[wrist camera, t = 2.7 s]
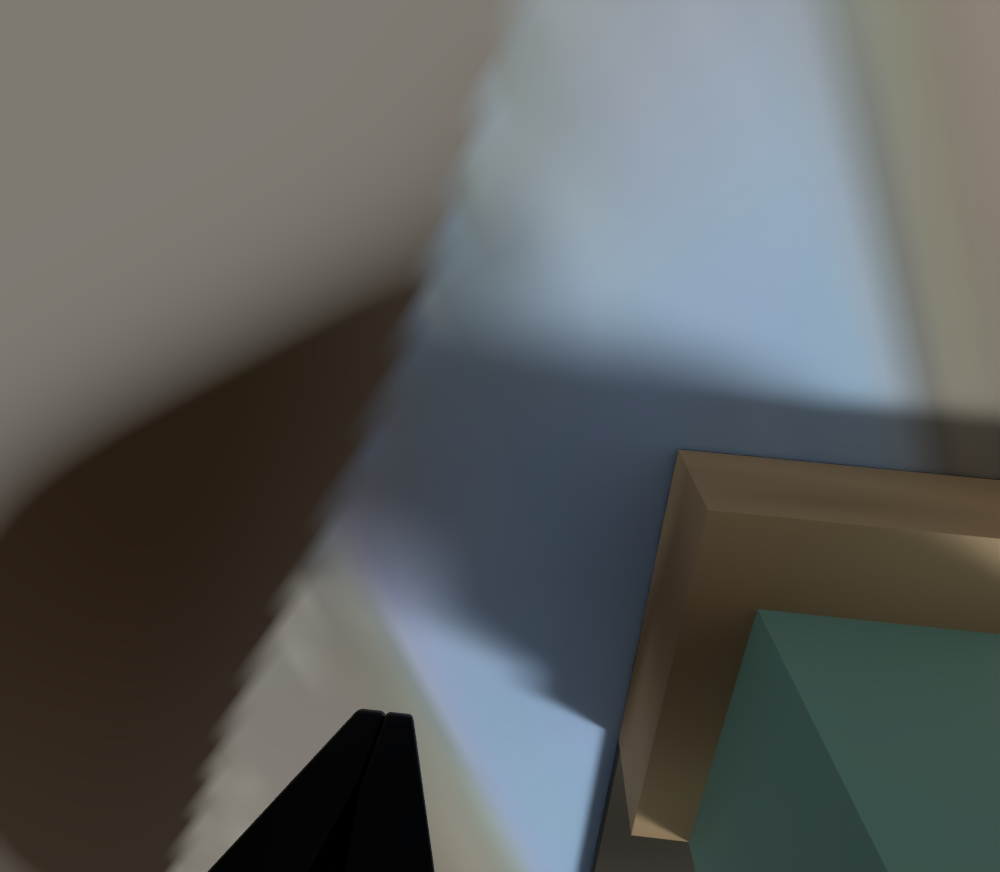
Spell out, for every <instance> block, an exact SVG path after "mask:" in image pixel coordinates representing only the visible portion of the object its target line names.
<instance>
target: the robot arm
mask: <svg viewBox="0 0 1000 872" xmlns="http://www.w3.org/2000/svg"><path fill="white" fill-rule="evenodd" d="M208 872H435V871H434V864H433V857H432V850H431V843H430V835H429V828H428V821H427V814H426V806H425V799H424V792H423V785H422V778H421V770H420V763H419V756H418V749H417V741H416V734H415V727H414V720H413V717H412V715H410V714H405V713H396V712H389V713H387V714H386V715H385V713H384V712H382V711H378V710H369V709H360V710H358V711H356V712H355V713H354V714H353V716H352V717H351V718H350V719H349V720H348V721H347V722H346V723H345V724H344V725H343V726H342V727H341V728H340V730H339V731H338V732H337V733H336V734H335V735H334V736H333V737H332V738H331V739H330V740H329V741H328V742H327V744H326V745H325V746H324V747H323V748H322V749H321V750H320V751H319V752H318V753H317V754H316V755H315V756H314V758H313V759H312V760H311V761H310V762H309V763H308V764H307V765H306V766H305V767H304V768H303V769H302V770H301V772H300V773H299V774H298V775H297V776H296V777H295V778H294V779H293V780H292V781H291V782H290V783H289V785H288V786H287V787H286V788H285V789H284V790H283V791H282V792H281V793H280V794H279V795H278V796H277V797H276V799H275V800H274V801H273V802H272V803H271V804H270V805H269V806H268V807H267V808H266V809H265V810H264V811H263V813H262V814H261V815H260V816H259V817H258V818H257V819H256V820H255V821H254V822H253V823H252V824H251V825H250V827H249V828H248V829H247V830H246V831H245V832H244V833H243V834H242V835H241V836H240V837H239V838H238V839H237V841H236V842H235V843H234V844H233V845H232V846H231V847H230V848H229V849H228V850H227V851H226V852H225V854H224V855H223V856H222V857H221V858H220V859H219V860H218V861H217V862H216V863H215V864H214V865H213V866H212V868H211V869H210V870H209V871H208Z"/></svg>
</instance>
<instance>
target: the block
mask: <svg viewBox="0 0 1000 872" xmlns="http://www.w3.org/2000/svg"><path fill="white" fill-rule="evenodd" d="M689 845H690V849H691V854H692V859H693V863H694V868H695V872H1000V634H992V633H982V632H973V631H963V630H953V629H944V628H934V627H925V626H915V625H905V624H896V623H886V622H877V621H867V620H857V619H848V618H838V617H829V616H819V615H809V614H800V613H790V612H781V611H771V610H761V609H757V612H756V615H755V619H754V622H753V625H752V629H751V632H750V636H749V639H748V642H747V646H746V649H745V653H744V656H743V659H742V663H741V666H740V670H739V673H738V676H737V680H736V683H735V687H734V690H733V694H732V697H731V700H730V704H729V707H728V711H727V714H726V717H725V721H724V724H723V728H722V731H721V734H720V738H719V741H718V745H717V748H716V751H715V755H714V758H713V762H712V765H711V768H710V772H709V775H708V779H707V782H706V785H705V789H704V792H703V796H702V799H701V802H700V806H699V809H698V813H697V816H696V819H695V823H694V826H693V830H692V833H691V837H690V840H689Z"/></svg>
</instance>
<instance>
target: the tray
mask: <svg viewBox="0 0 1000 872" xmlns="http://www.w3.org/2000/svg"><path fill="white" fill-rule="evenodd" d="M757 609H761V610H771V611H781V612H790V613H800V614H809V615H819V616H829V617H838V618H848V619H857V620H867V621H877V622H886V623H896V624H905V625H915V626H925V627H934V628H944V629H953V630H963V631H973V632H982V633H992V634H1000V480H992V479H982V478H971V477H961V476H951V475H940V474H930V473H919V472H909V471H898V470H888V469H877V468H867V467H857V466H846V465H836V464H825V463H815V462H804V461H794V460H783V459H773V458H762V457H752V456H742V455H731V454H721V453H710V452H700V451H689V450H679V449H678V453H677V458H676V463H675V467H674V472H673V477H672V482H671V487H670V492H669V497H668V501H667V506H666V511H665V516H664V521H663V526H662V531H661V535H660V540H659V545H658V550H657V555H656V560H655V565H654V569H653V574H652V579H651V584H650V589H649V594H648V598H647V603H646V608H645V613H644V618H643V623H642V628H641V632H640V637H639V642H638V647H637V652H636V657H635V662H634V666H633V671H632V676H631V681H630V686H629V691H628V696H627V700H626V705H625V710H624V715H623V720H622V725H621V730H620V734H619V739H618V744H617V749H616V754H615V759H614V763H613V768H612V773H611V778H610V783H609V788H608V793H607V797H606V802H605V807H604V812H603V817H602V822H601V827H600V831H599V836H598V841H597V846H596V851H595V856H594V861H593V865H592V870H591V872H695V868H694V863H693V859H692V854H691V849H690V845H689V840H690V837H691V833H692V830H693V826H694V823H695V819H696V816H697V813H698V809H699V806H700V802H701V799H702V796H703V792H704V789H705V785H706V782H707V779H708V775H709V772H710V768H711V765H712V762H713V758H714V755H715V751H716V748H717V745H718V741H719V738H720V734H721V731H722V728H723V724H724V721H725V717H726V714H727V711H728V707H729V704H730V700H731V697H732V694H733V690H734V687H735V683H736V680H737V676H738V673H739V670H740V666H741V663H742V659H743V656H744V653H745V649H746V646H747V642H748V639H749V636H750V632H751V629H752V625H753V622H754V619H755V615H756V612H757Z"/></svg>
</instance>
